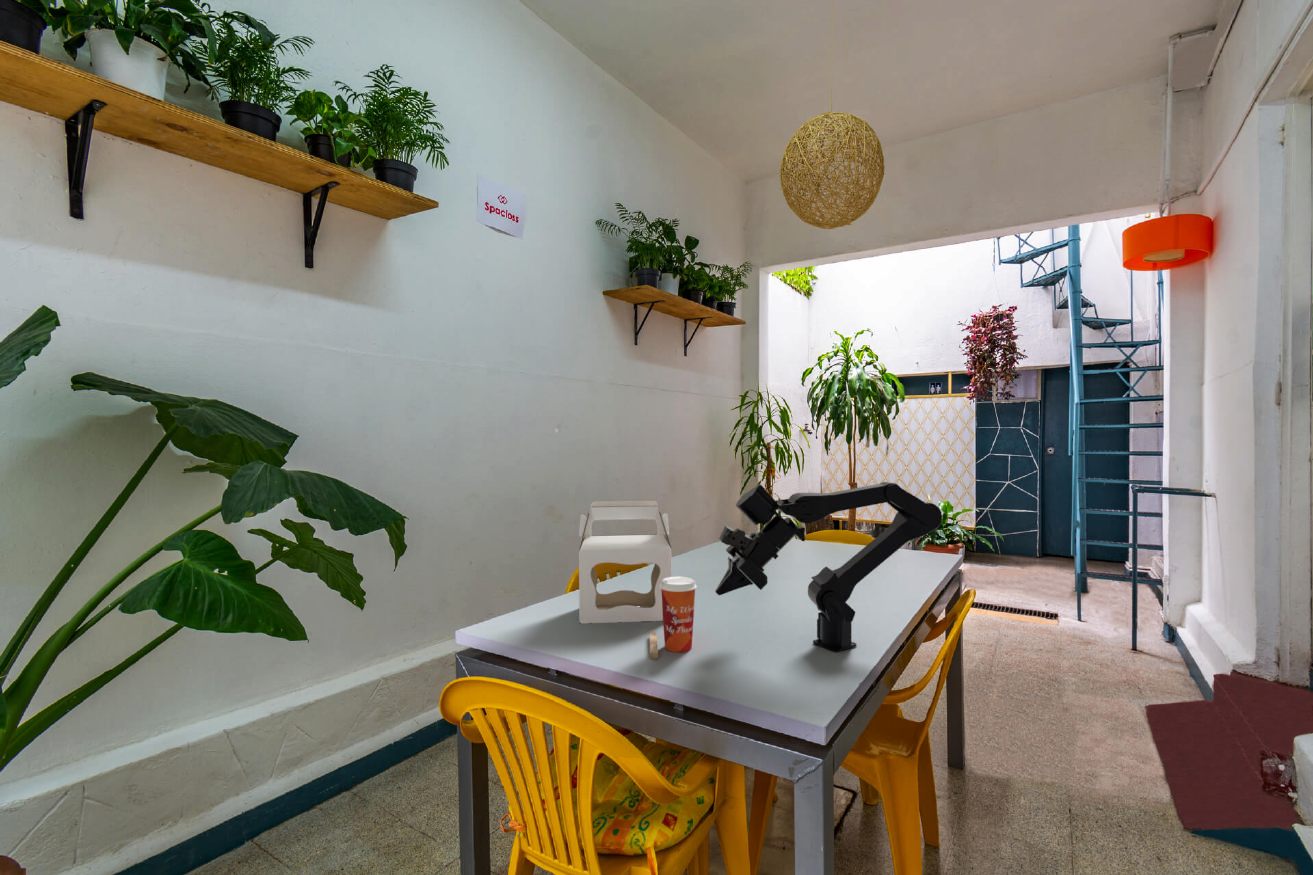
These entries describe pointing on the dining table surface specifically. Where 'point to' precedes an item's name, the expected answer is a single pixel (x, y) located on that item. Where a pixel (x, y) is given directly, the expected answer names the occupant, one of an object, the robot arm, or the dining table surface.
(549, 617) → the dining table surface
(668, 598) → the paper cup
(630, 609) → the gable box
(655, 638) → the oak strip
